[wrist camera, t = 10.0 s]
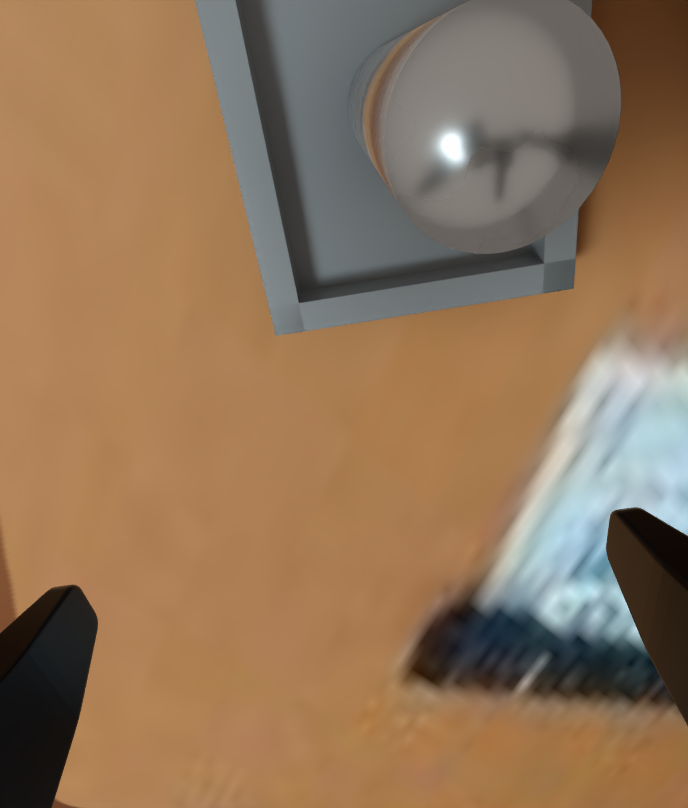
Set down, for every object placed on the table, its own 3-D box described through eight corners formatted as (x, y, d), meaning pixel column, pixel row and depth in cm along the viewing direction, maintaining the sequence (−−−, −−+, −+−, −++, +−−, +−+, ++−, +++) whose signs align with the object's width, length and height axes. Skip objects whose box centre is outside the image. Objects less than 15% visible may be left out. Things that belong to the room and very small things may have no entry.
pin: (452, 29, 15) (633, -39, 6) (458, 153, 17) (610, 232, 8) (338, 52, 15) (367, 17, 7) (356, 173, 17) (398, 271, 8)
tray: (571, -202, 13) (608, -245, 12) (551, 270, 19) (573, 288, 18) (179, -121, 14) (158, -150, 12) (280, 314, 20) (275, 335, 18)
